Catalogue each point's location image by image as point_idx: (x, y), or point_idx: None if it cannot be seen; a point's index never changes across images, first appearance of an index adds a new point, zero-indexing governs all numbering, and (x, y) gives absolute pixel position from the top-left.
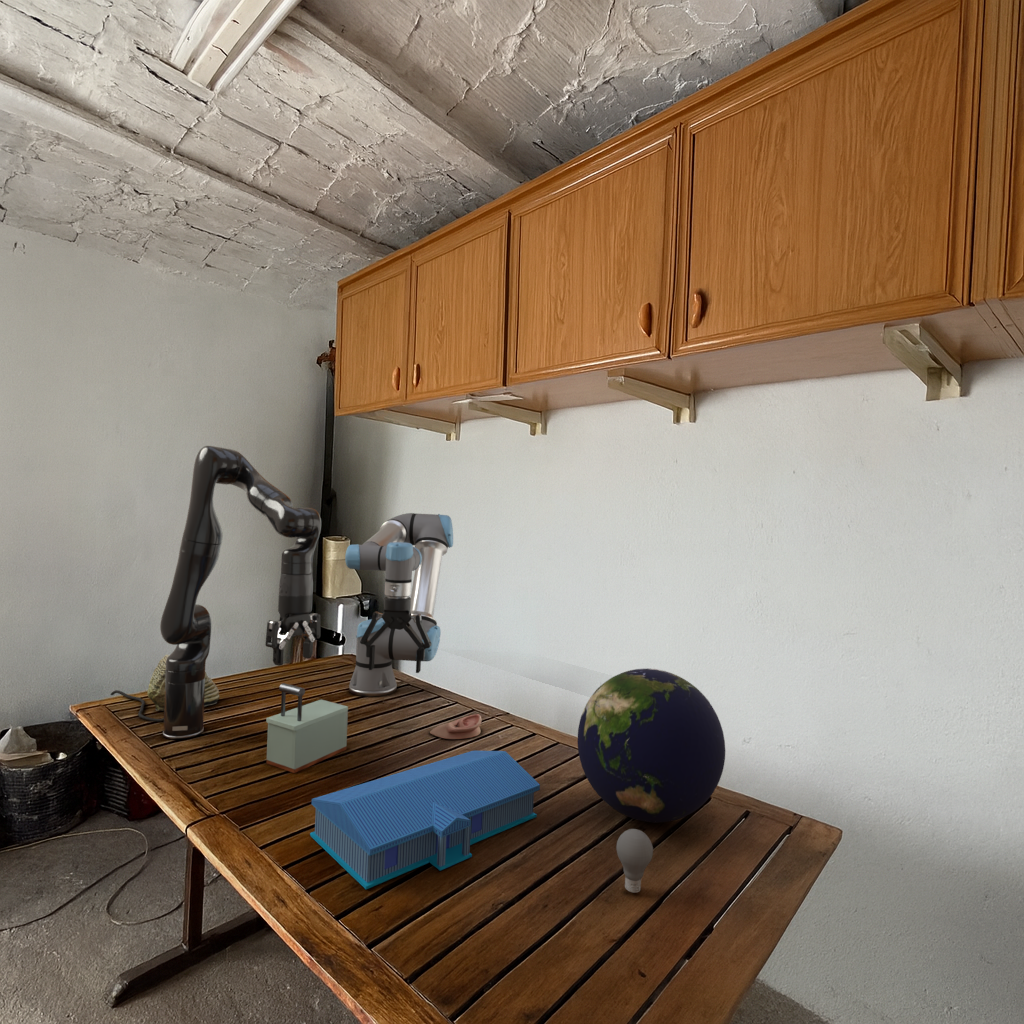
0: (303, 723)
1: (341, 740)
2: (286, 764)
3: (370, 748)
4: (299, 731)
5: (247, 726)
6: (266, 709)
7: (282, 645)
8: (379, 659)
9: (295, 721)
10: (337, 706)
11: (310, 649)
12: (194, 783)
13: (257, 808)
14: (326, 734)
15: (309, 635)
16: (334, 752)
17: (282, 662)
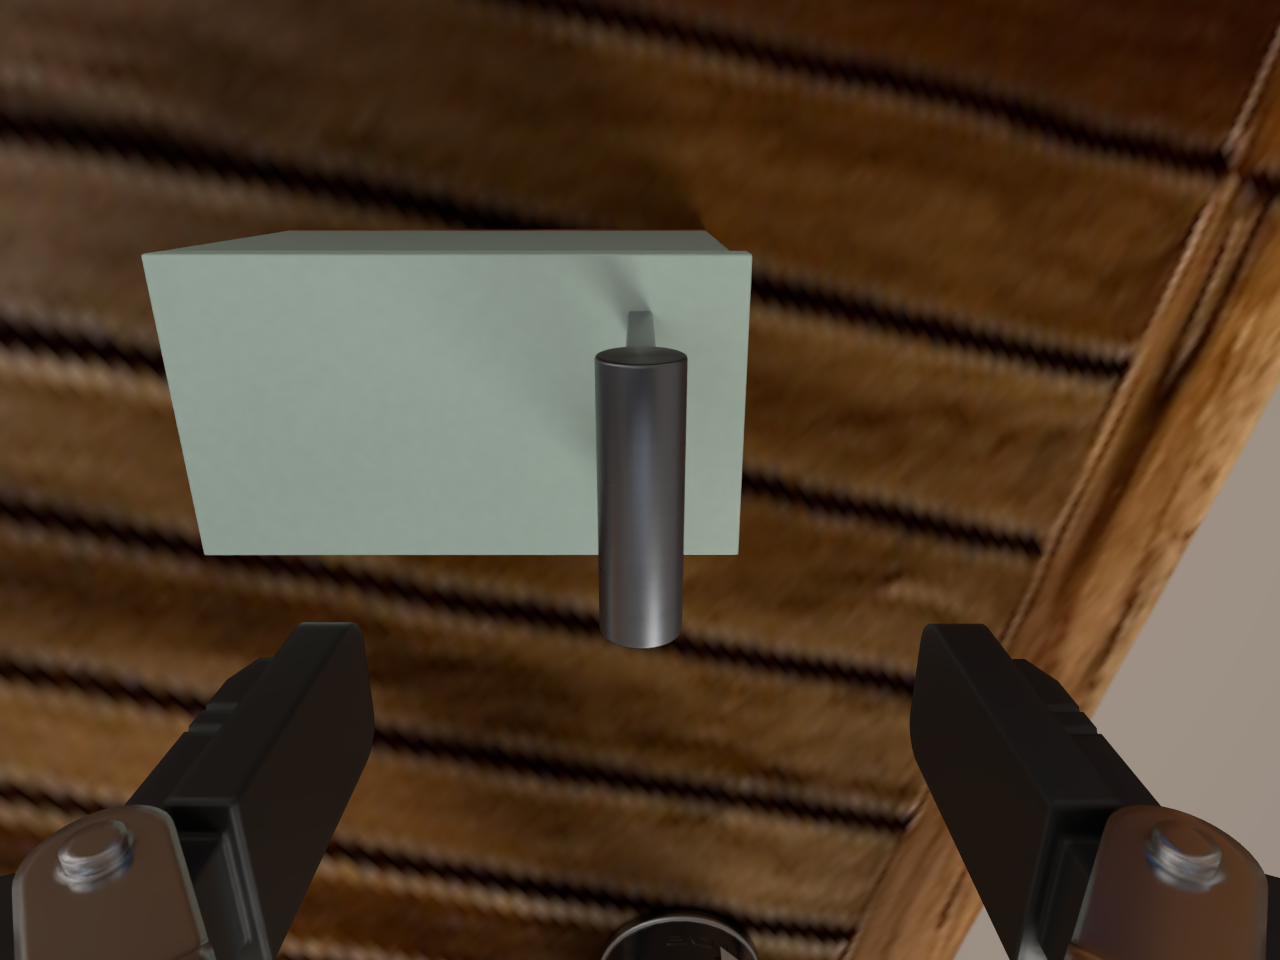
0: (659, 253)
1: (315, 234)
2: None
3: (174, 113)
4: (694, 249)
5: (450, 849)
6: None
7: (1160, 880)
8: None
9: (669, 333)
10: (210, 328)
11: (271, 706)
12: (1031, 531)
13: (1117, 48)
14: (435, 240)
15: (186, 957)
16: (394, 229)
17: (958, 635)
